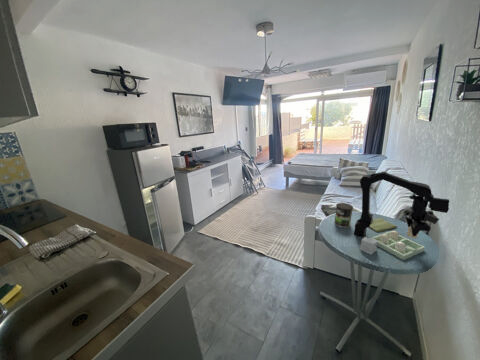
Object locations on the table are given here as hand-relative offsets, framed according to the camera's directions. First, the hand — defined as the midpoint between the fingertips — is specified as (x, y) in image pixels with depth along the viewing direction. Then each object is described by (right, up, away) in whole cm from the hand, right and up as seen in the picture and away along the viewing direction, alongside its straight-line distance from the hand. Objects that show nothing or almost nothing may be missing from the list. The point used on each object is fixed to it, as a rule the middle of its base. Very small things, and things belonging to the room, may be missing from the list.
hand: (412, 233), depth 109 cm
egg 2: (-3, -7, +10) cm, 13 cm away
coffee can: (-22, -2, +32) cm, 39 cm away
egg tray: (-5, -9, +5) cm, 12 cm away
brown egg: (0, -1, 0) cm, 2 cm away
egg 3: (-7, -10, 0) cm, 13 cm away
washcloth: (+1, -3, +27) cm, 27 cm away
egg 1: (-11, -8, +7) cm, 15 cm away
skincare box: (-23, -11, +3) cm, 25 cm away
